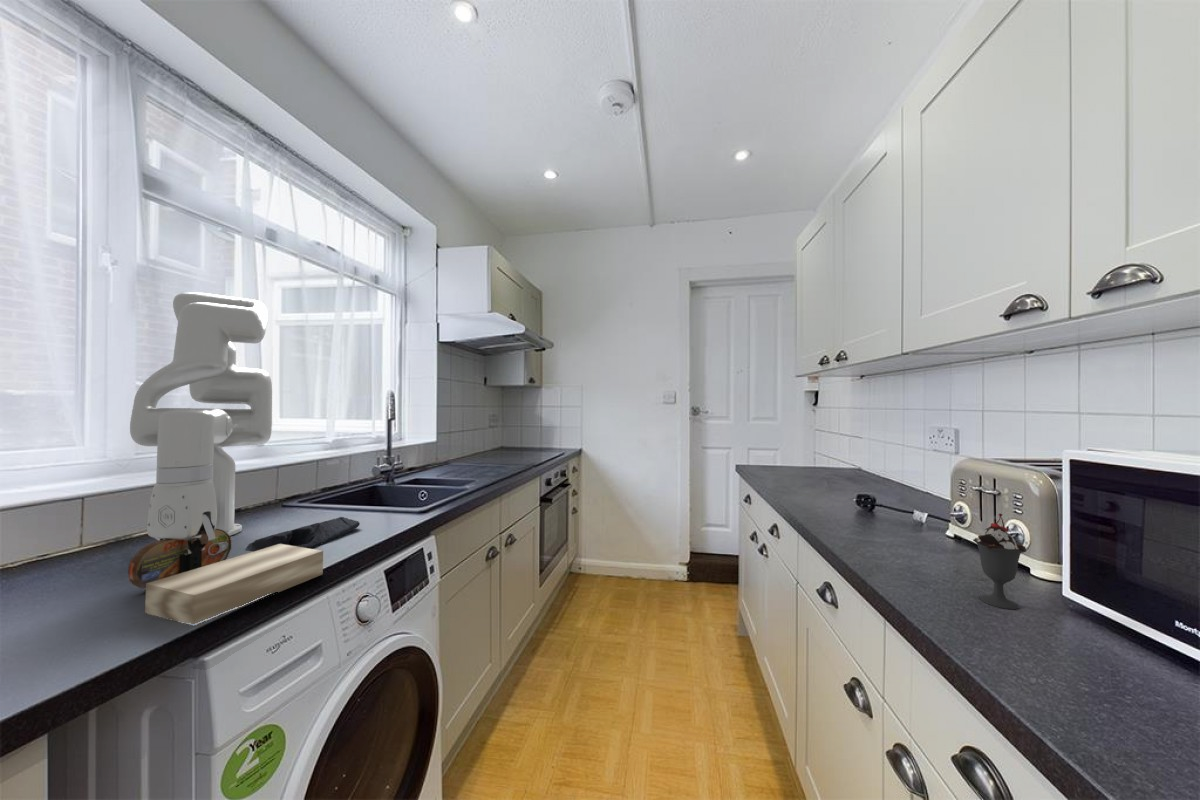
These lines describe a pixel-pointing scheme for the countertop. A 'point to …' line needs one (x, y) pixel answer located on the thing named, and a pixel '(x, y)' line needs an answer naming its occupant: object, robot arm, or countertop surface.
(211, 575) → the birch block
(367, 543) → the countertop surface
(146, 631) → the countertop surface
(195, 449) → the robot arm
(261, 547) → the dark slate chunk
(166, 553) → the tin
